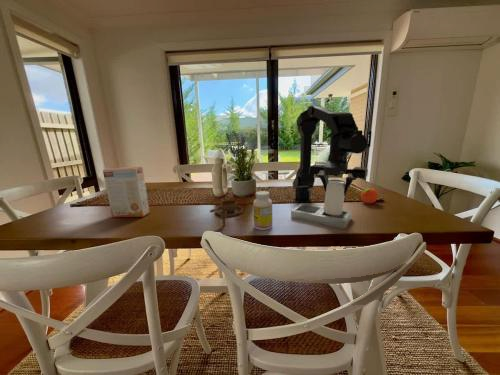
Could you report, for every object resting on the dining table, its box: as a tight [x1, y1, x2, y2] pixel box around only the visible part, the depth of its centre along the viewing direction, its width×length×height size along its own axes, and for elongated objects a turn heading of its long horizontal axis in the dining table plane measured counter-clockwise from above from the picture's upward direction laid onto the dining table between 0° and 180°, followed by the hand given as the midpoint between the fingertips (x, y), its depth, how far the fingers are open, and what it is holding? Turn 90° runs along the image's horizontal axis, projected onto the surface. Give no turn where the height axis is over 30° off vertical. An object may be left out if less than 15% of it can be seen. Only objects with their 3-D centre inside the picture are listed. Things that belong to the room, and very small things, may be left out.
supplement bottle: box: [252, 190, 273, 231], centre depth 77 cm, size 7×7×13 cm
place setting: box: [209, 199, 244, 227], centre depth 91 cm, size 18×20×6 cm
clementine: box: [360, 187, 379, 205], centre depth 98 cm, size 8×7×7 cm
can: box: [323, 179, 346, 216], centre depth 80 cm, size 6×6×12 cm
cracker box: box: [102, 166, 150, 218], centre depth 93 cm, size 14×6×21 cm, turn 86°
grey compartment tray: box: [290, 202, 353, 230], centre depth 84 cm, size 20×10×3 cm, turn 55°
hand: (335, 194), depth 79 cm, fingers closed on can, 6 cm apart
